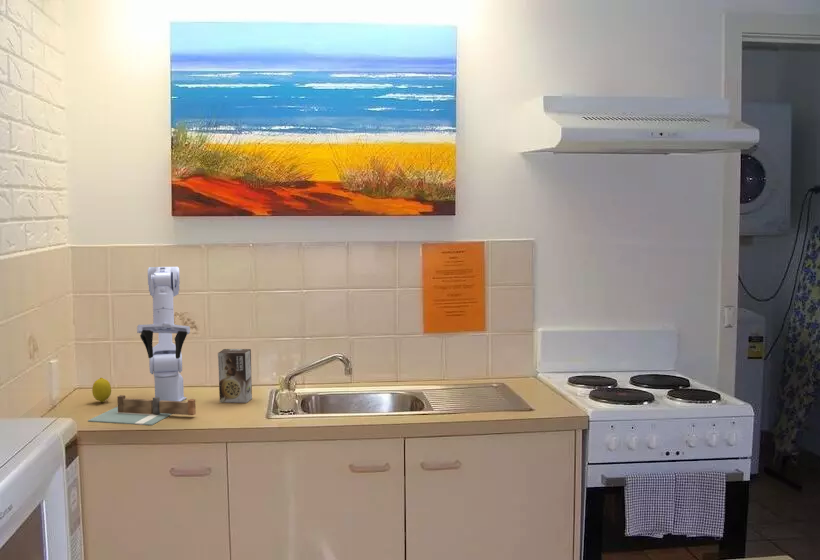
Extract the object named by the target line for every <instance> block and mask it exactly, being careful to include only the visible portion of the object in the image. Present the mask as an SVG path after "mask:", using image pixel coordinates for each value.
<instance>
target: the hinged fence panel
mask: <svg viewBox="0 0 820 560" xmlns="http://www.w3.org/2000/svg"><path fill="white" fill-rule="evenodd" d="M196 405H197V404H196V399H195V398H190V399H188V400H187V401H164V400H161V401H159V410H160V413H163V414H172V415H182V416H183V415H185V416H195V415H196V411H197V410H196V408H197V407H196Z"/></svg>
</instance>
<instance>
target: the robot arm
mask: <svg viewBox="0 0 820 560" xmlns="http://www.w3.org/2000/svg"><path fill="white" fill-rule="evenodd" d="M180 279H181V278H180V268H179V266H154V267H153V266H149V267H148V268H147V286H148V292H149V295H150V296H151V297H152V318H153V319H152V321H153V322H152V324H151V323H150V324H138V325H137V327H136V332H137V333H136V334H140V335H139V336H140V340H141V342H143V345H144V346H145V349H146V353H147V356H148V357H147V358H148V360H149V366H148V367H149V373H150V375H153V378H154V397H159V398H160V401H161V400H164V401H182V402H184V401H185V400H186V399H187V396H185V395H184V393H185V391H184V389H185V388H184V377H183V376H182V374H181V372H183V354H182V350H183V345H184V342H185V340H186V339H187V335H189V334H190V333H191V326H189V325H181V324H175V314H174V313H175V312H174V311H175V310H174V297H176V296H177V295H179V292H180V283H181V281H180ZM154 334H158V337H157V338H158V342H157V344H156V345H154V346H153V337H154ZM173 334H175V337H174V342H173Z"/></svg>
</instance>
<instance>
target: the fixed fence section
mask: <svg viewBox="0 0 820 560" xmlns="http://www.w3.org/2000/svg"><path fill="white" fill-rule="evenodd" d="M116 398H117V399H116V400H117V407H118V412H120V413H123V412H124V413H141V414H154V415H159V414H160V410H159V401H160V398H159V397H155V396H154V397H152V399H145V398H126V395H124V394H123V395H122V394H119V395H118V396H117V397H116Z"/></svg>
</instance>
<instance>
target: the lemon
mask: <svg viewBox="0 0 820 560" xmlns="http://www.w3.org/2000/svg"><path fill="white" fill-rule="evenodd" d="M91 392H92V396H93V398H94V399H95V400H97V401H99V402H100V403H105V401H106V400H108V399H109V398H110V397H111V394H112V385H111V382H109V381H108V380H107V379H106V378H103V377H100V378H98V379H96V380H95V381H94V382H93V385H92V390H91Z"/></svg>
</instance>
